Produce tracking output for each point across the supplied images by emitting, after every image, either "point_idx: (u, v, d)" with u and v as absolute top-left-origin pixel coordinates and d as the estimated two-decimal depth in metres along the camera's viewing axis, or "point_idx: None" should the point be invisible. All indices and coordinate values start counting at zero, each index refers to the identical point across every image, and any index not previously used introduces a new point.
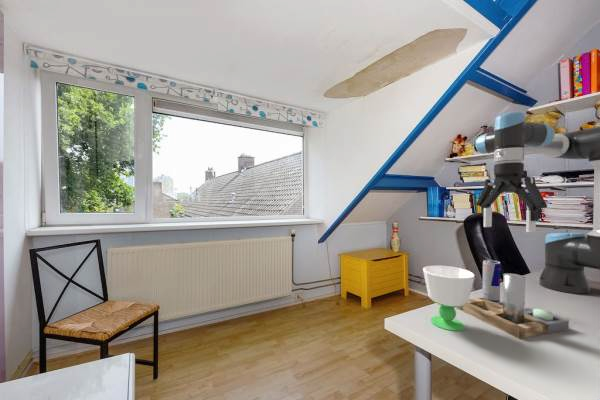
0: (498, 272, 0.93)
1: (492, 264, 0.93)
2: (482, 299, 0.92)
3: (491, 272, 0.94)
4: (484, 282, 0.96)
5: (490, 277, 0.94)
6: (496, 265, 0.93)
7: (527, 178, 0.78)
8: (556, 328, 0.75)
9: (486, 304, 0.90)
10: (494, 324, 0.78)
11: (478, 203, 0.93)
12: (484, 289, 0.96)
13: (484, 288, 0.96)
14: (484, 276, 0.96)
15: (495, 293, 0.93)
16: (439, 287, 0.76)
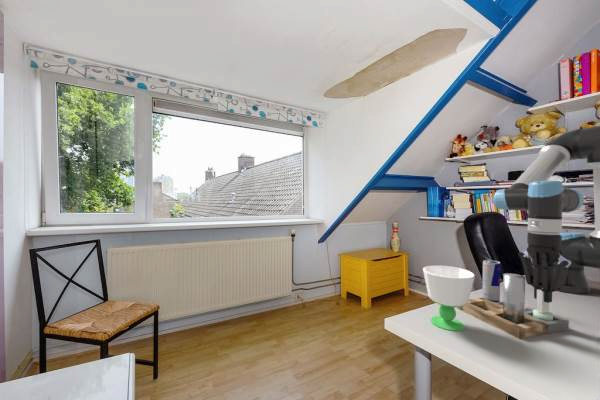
0: (498, 272, 0.93)
1: (492, 264, 0.93)
2: (482, 299, 0.92)
3: (491, 272, 0.94)
4: (484, 282, 0.96)
5: (490, 277, 0.94)
6: (496, 265, 0.93)
7: (565, 263, 0.73)
8: (556, 328, 0.75)
9: (486, 304, 0.90)
10: (494, 324, 0.78)
11: (528, 281, 0.82)
12: (484, 289, 0.96)
13: (484, 288, 0.96)
14: (484, 276, 0.96)
15: (495, 293, 0.93)
16: (439, 287, 0.76)
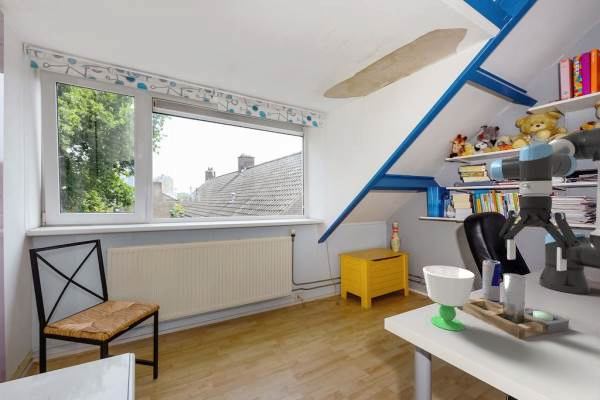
0: (498, 272, 0.93)
1: (492, 264, 0.93)
2: (482, 299, 0.92)
3: (491, 272, 0.94)
4: (484, 282, 0.96)
5: (490, 277, 0.94)
6: (496, 265, 0.93)
7: (558, 214, 0.75)
8: (556, 328, 0.75)
9: (486, 304, 0.90)
10: (494, 324, 0.78)
11: (501, 234, 0.90)
12: (484, 289, 0.96)
13: (484, 288, 0.96)
14: (484, 276, 0.96)
15: (495, 293, 0.93)
16: (439, 287, 0.76)
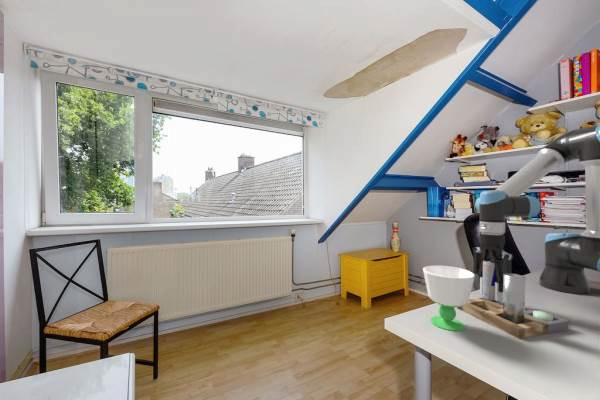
0: None
1: (492, 264, 0.93)
2: (482, 299, 0.92)
3: (491, 272, 0.94)
4: (484, 282, 0.96)
5: (490, 277, 0.94)
6: None
7: (506, 256, 0.89)
8: (556, 328, 0.75)
9: (486, 304, 0.90)
10: (494, 324, 0.78)
11: (475, 271, 1.01)
12: (484, 289, 0.96)
13: (484, 288, 0.96)
14: (484, 276, 0.96)
15: None
16: (439, 287, 0.76)
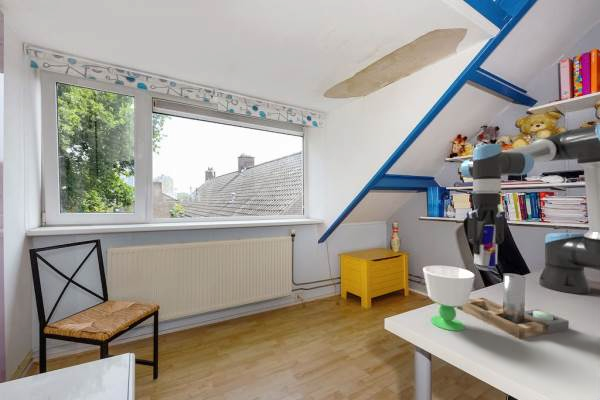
0: None
1: None
2: (482, 299, 0.92)
3: None
4: None
5: None
6: None
7: None
8: (556, 328, 0.75)
9: (486, 304, 0.90)
10: (494, 324, 0.78)
11: None
12: None
13: None
14: None
15: None
16: (439, 287, 0.76)
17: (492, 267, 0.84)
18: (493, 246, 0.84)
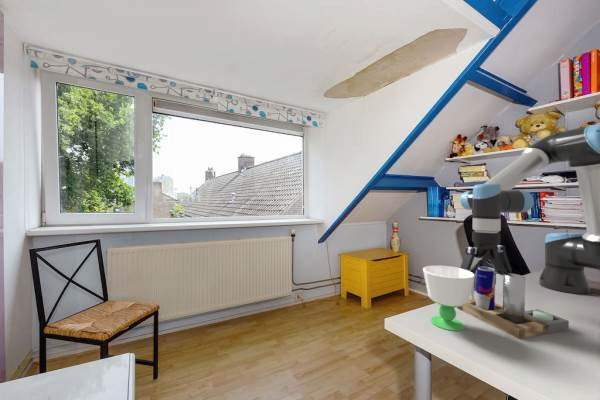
0: (479, 279, 0.86)
1: None
2: None
3: None
4: None
5: (476, 282, 0.88)
6: (477, 270, 0.87)
7: None
8: (556, 328, 0.75)
9: None
10: (494, 324, 0.78)
11: None
12: None
13: None
14: None
15: (476, 299, 0.87)
16: (439, 287, 0.76)
17: None
18: (493, 291, 0.84)
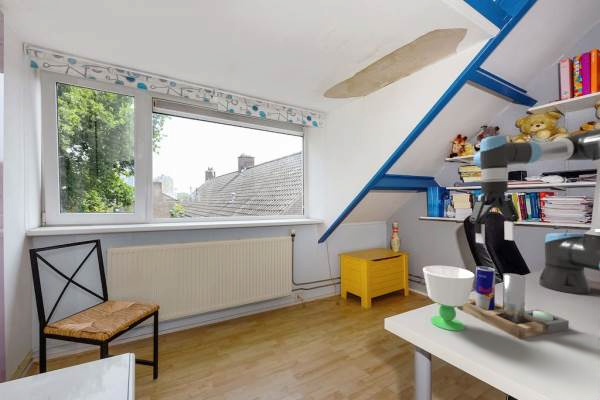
0: (479, 279, 0.86)
1: None
2: None
3: (476, 277, 0.88)
4: None
5: (476, 282, 0.88)
6: (477, 270, 0.87)
7: None
8: (556, 328, 0.75)
9: None
10: (494, 324, 0.78)
11: None
12: None
13: None
14: None
15: (476, 299, 0.87)
16: (439, 287, 0.76)
17: None
18: (493, 291, 0.84)
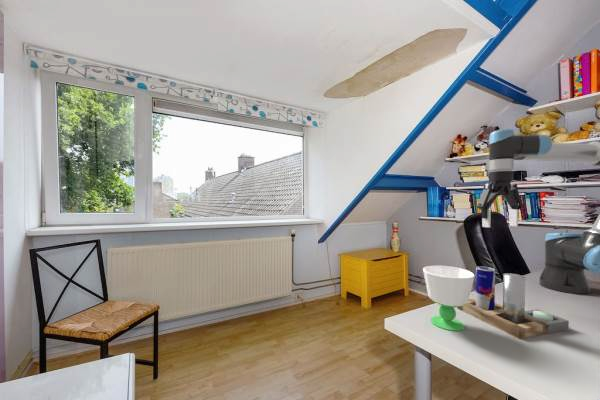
0: (479, 279, 0.86)
1: None
2: None
3: None
4: None
5: (476, 282, 0.88)
6: (477, 270, 0.87)
7: None
8: (556, 328, 0.75)
9: None
10: (494, 324, 0.78)
11: None
12: None
13: None
14: None
15: (476, 299, 0.87)
16: (439, 287, 0.76)
17: None
18: (493, 291, 0.84)
